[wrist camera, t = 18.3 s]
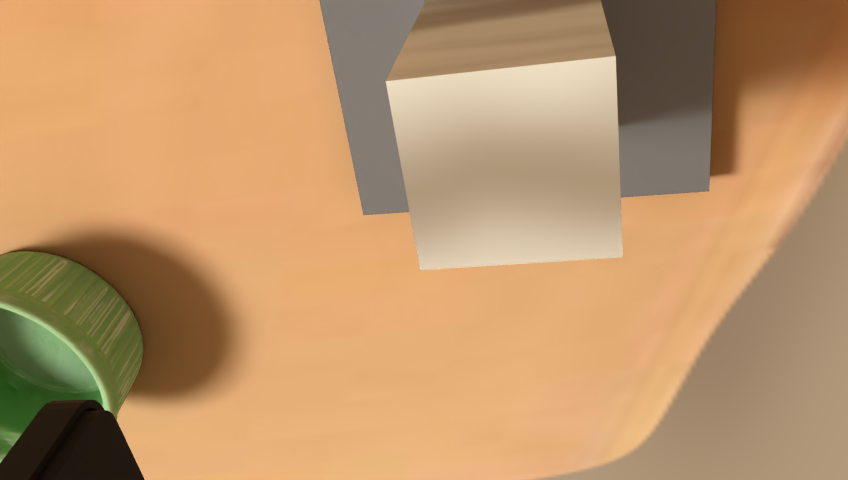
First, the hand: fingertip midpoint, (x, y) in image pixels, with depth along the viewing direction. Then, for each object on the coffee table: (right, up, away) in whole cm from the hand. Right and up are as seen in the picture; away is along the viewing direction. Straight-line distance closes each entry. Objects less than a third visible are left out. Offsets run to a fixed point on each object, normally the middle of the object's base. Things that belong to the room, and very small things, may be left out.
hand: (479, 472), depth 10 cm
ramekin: (-17, -1, +25) cm, 30 cm away
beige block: (+2, +8, +15) cm, 18 cm away
